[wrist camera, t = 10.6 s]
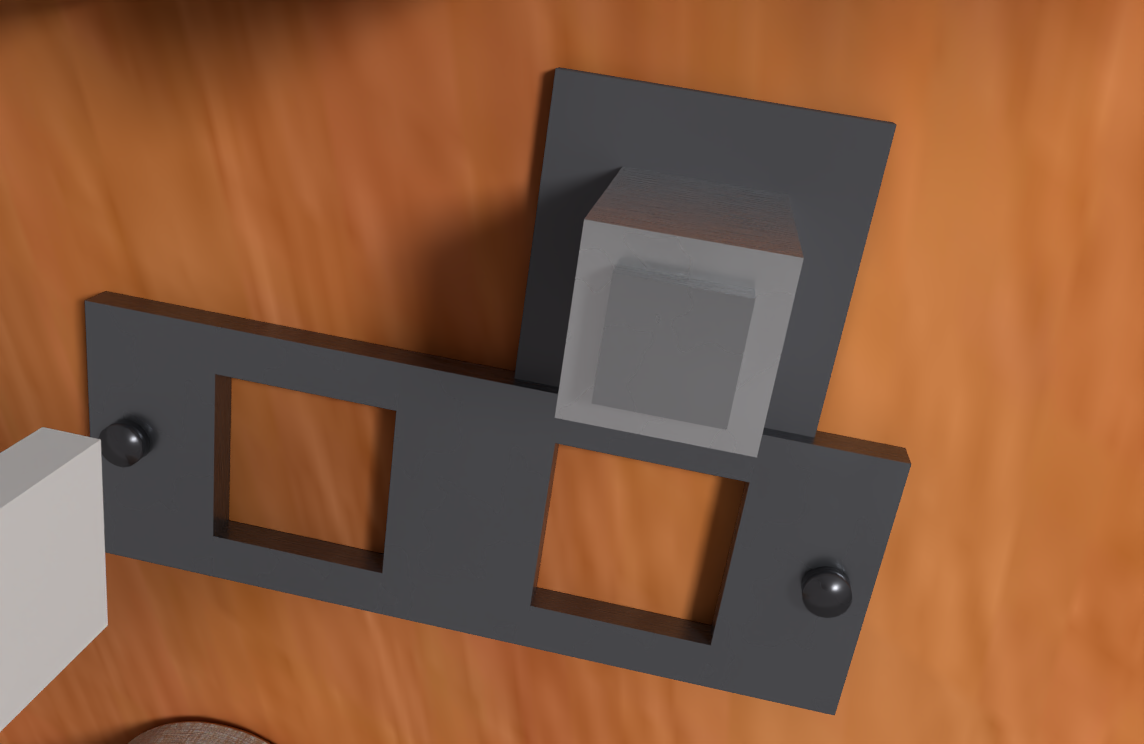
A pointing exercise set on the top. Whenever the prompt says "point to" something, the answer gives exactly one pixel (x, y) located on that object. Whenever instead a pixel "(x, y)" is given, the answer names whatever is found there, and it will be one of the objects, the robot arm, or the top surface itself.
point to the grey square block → (680, 310)
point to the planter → (196, 734)
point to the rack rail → (481, 502)
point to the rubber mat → (718, 154)
